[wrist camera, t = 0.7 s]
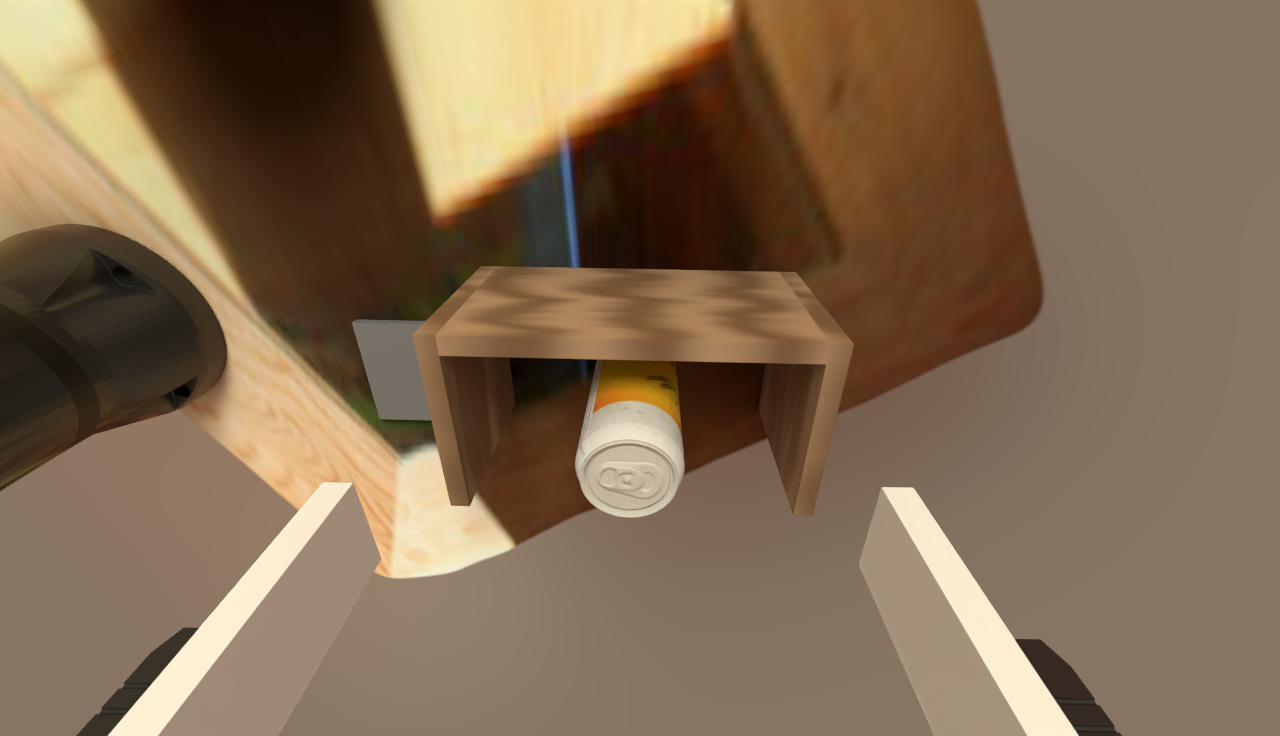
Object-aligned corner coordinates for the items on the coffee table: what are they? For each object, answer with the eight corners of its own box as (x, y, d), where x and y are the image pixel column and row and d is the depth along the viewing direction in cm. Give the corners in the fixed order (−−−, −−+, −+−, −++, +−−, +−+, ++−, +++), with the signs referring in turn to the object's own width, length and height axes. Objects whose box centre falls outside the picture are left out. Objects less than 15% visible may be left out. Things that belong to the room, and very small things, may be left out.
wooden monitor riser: (501, 403, 42) (450, 505, 32) (481, 266, 37) (411, 334, 26) (772, 410, 42) (812, 515, 31) (795, 272, 36) (854, 344, 26)
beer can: (666, 392, 41) (673, 530, 28) (594, 380, 41) (566, 514, 28) (682, 326, 38) (697, 445, 25) (604, 313, 38) (578, 427, 25)
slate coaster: (383, 415, 43) (379, 419, 43) (355, 319, 39) (351, 322, 38) (486, 417, 43) (484, 421, 42) (470, 322, 39) (467, 325, 38)
